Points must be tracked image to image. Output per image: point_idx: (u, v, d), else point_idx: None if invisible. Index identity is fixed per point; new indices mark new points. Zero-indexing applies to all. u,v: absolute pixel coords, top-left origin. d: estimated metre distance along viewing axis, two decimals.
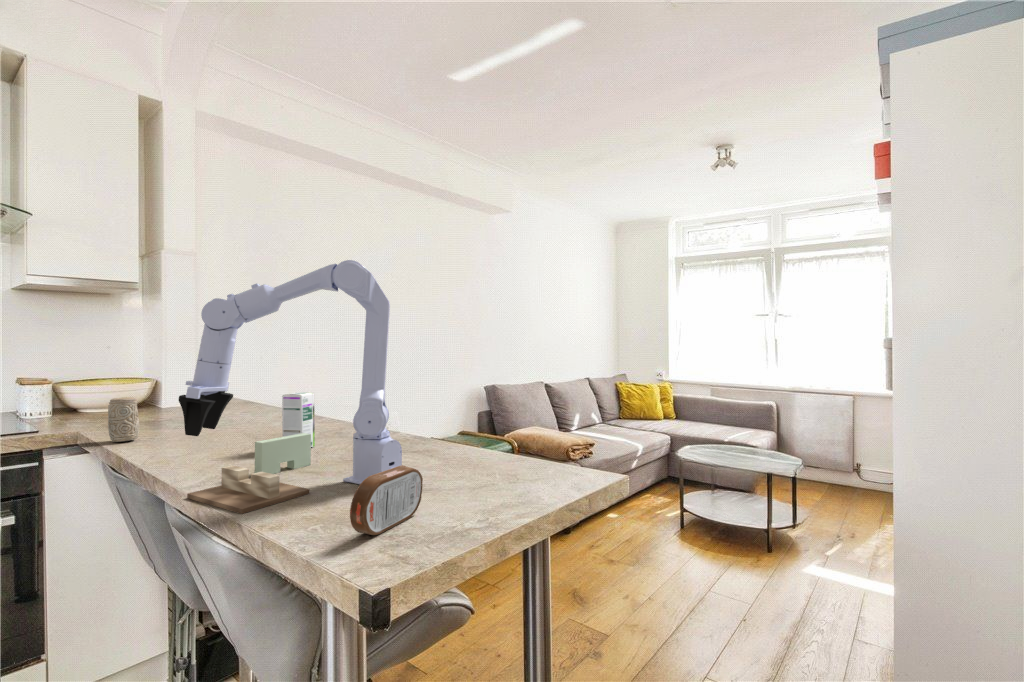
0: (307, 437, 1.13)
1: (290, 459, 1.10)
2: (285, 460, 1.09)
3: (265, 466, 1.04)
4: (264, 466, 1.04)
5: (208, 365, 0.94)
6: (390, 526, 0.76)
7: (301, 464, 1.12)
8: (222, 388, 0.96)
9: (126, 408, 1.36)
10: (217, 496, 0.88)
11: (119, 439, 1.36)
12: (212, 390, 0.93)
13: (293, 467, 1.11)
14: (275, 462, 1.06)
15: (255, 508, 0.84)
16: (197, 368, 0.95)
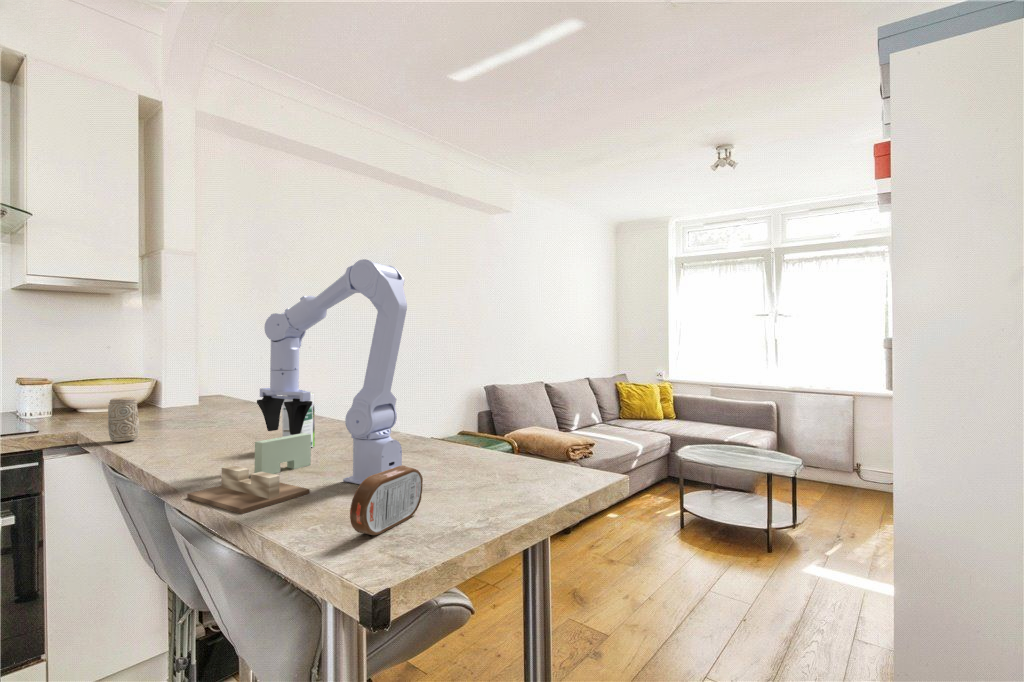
0: (307, 437, 1.13)
1: (290, 459, 1.10)
2: (285, 460, 1.09)
3: (265, 466, 1.04)
4: (264, 466, 1.04)
5: (293, 373, 1.08)
6: (390, 526, 0.76)
7: (301, 464, 1.12)
8: None
9: (126, 408, 1.36)
10: (217, 496, 0.88)
11: (119, 439, 1.36)
12: None
13: (293, 467, 1.11)
14: (275, 462, 1.06)
15: (255, 508, 0.84)
16: (282, 377, 1.07)
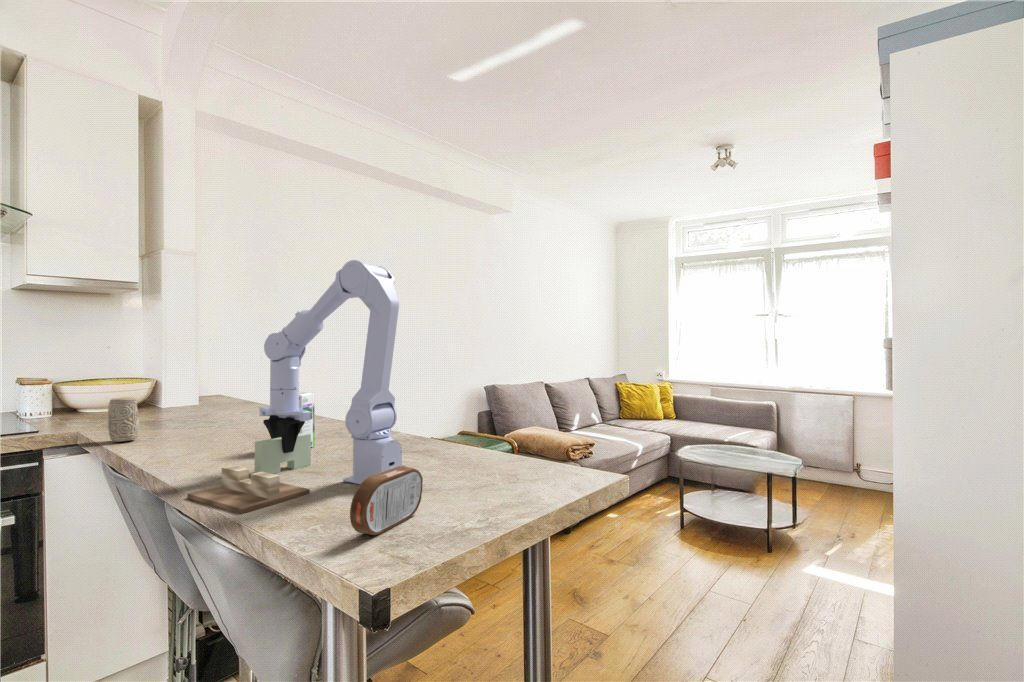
0: (307, 437, 1.13)
1: (290, 459, 1.10)
2: (285, 460, 1.09)
3: (265, 466, 1.04)
4: (263, 466, 1.04)
5: (293, 392, 1.08)
6: (390, 526, 0.76)
7: (301, 464, 1.12)
8: None
9: (126, 408, 1.36)
10: (217, 496, 0.88)
11: (119, 439, 1.36)
12: None
13: (293, 467, 1.11)
14: (275, 462, 1.06)
15: (255, 508, 0.84)
16: (282, 397, 1.07)
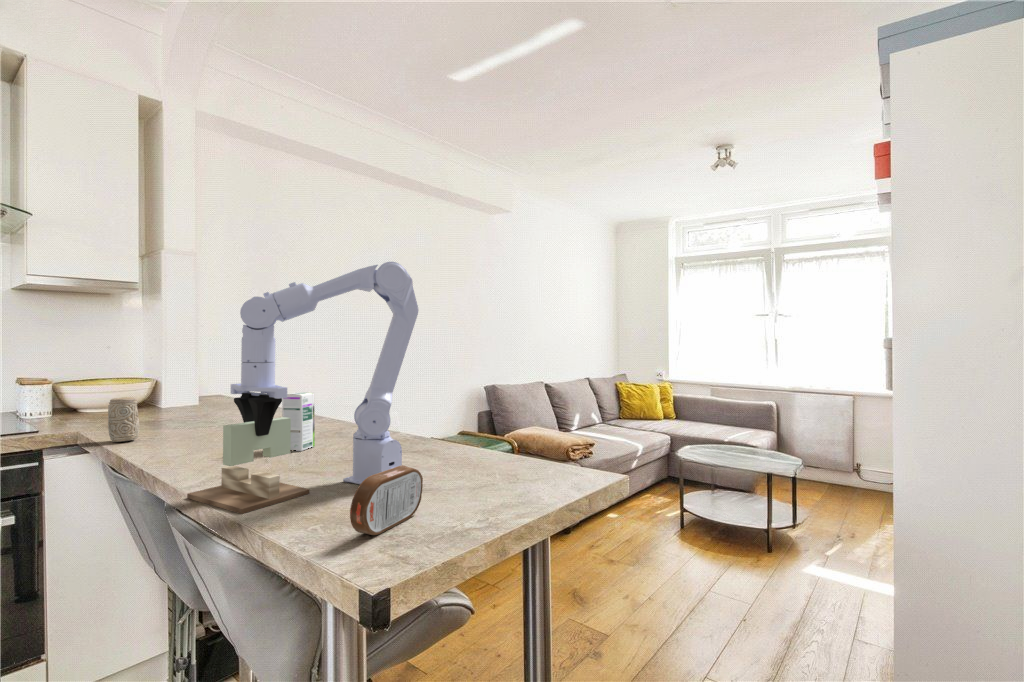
0: (286, 421, 0.99)
1: (266, 446, 0.95)
2: (259, 447, 0.94)
3: (235, 454, 0.90)
4: (233, 454, 0.90)
5: (268, 366, 0.93)
6: (390, 526, 0.76)
7: (279, 452, 0.97)
8: None
9: (126, 408, 1.36)
10: (217, 496, 0.88)
11: (119, 439, 1.36)
12: None
13: (269, 456, 0.96)
14: (247, 449, 0.92)
15: (255, 508, 0.84)
16: (255, 371, 0.92)
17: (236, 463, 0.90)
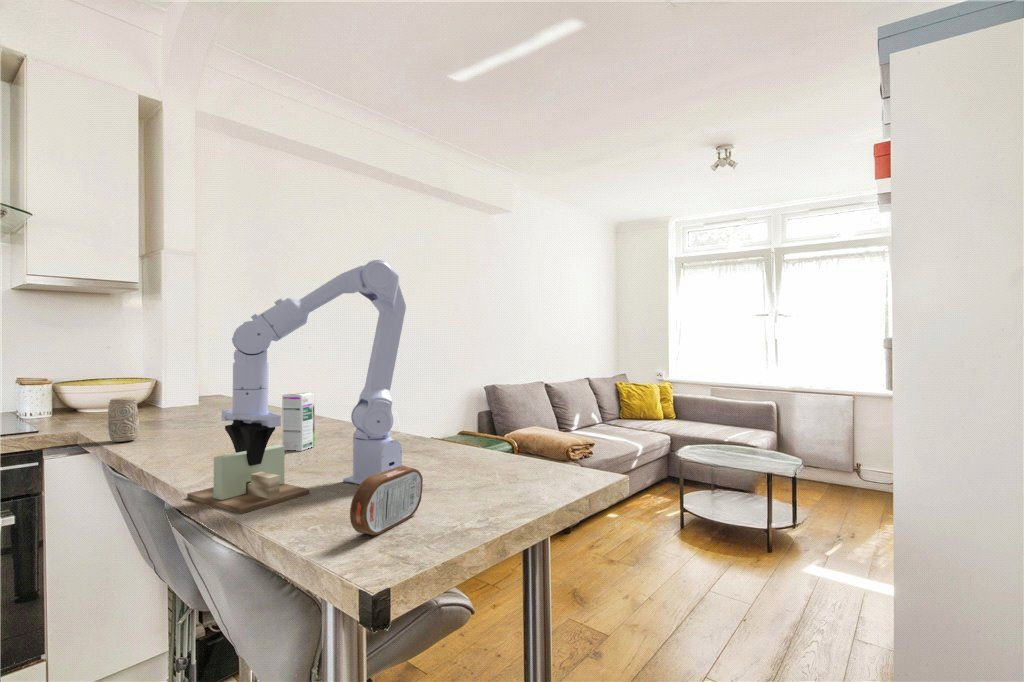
0: (280, 450, 0.95)
1: None
2: None
3: (226, 487, 0.86)
4: (224, 487, 0.86)
5: (260, 392, 0.90)
6: (390, 526, 0.76)
7: None
8: None
9: (126, 408, 1.36)
10: None
11: (119, 439, 1.36)
12: None
13: None
14: (239, 481, 0.88)
15: (255, 508, 0.84)
16: (247, 398, 0.88)
17: (227, 496, 0.86)
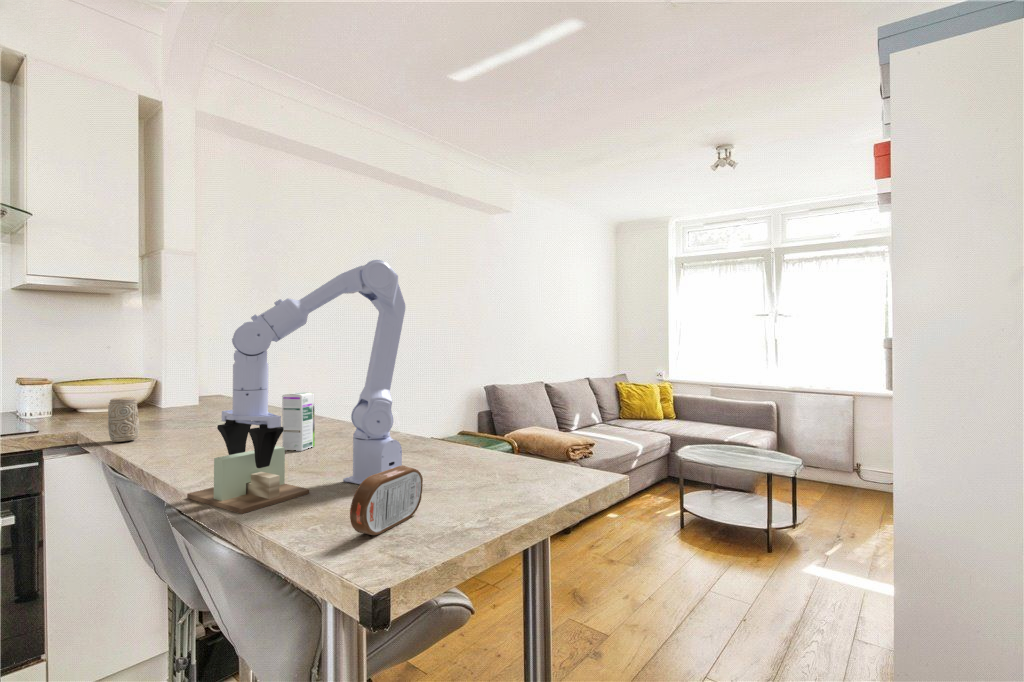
0: (280, 451, 0.95)
1: None
2: None
3: (226, 488, 0.86)
4: (224, 488, 0.86)
5: (260, 393, 0.90)
6: (390, 526, 0.76)
7: None
8: None
9: (126, 408, 1.36)
10: None
11: (119, 439, 1.36)
12: None
13: None
14: (239, 482, 0.88)
15: (255, 508, 0.84)
16: (247, 399, 0.88)
17: (227, 497, 0.86)
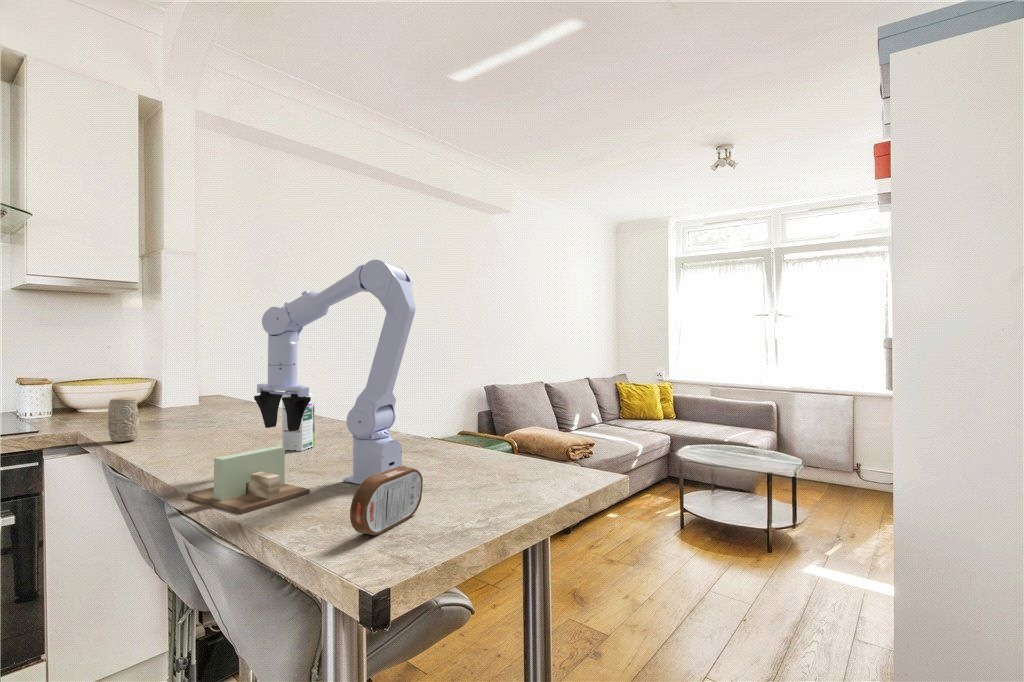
0: (280, 451, 0.95)
1: None
2: None
3: (226, 488, 0.86)
4: (224, 488, 0.86)
5: (291, 368, 1.06)
6: (390, 526, 0.76)
7: None
8: None
9: (126, 408, 1.36)
10: None
11: (119, 439, 1.36)
12: None
13: None
14: (239, 482, 0.88)
15: (255, 508, 0.84)
16: (280, 372, 1.04)
17: (227, 497, 0.86)
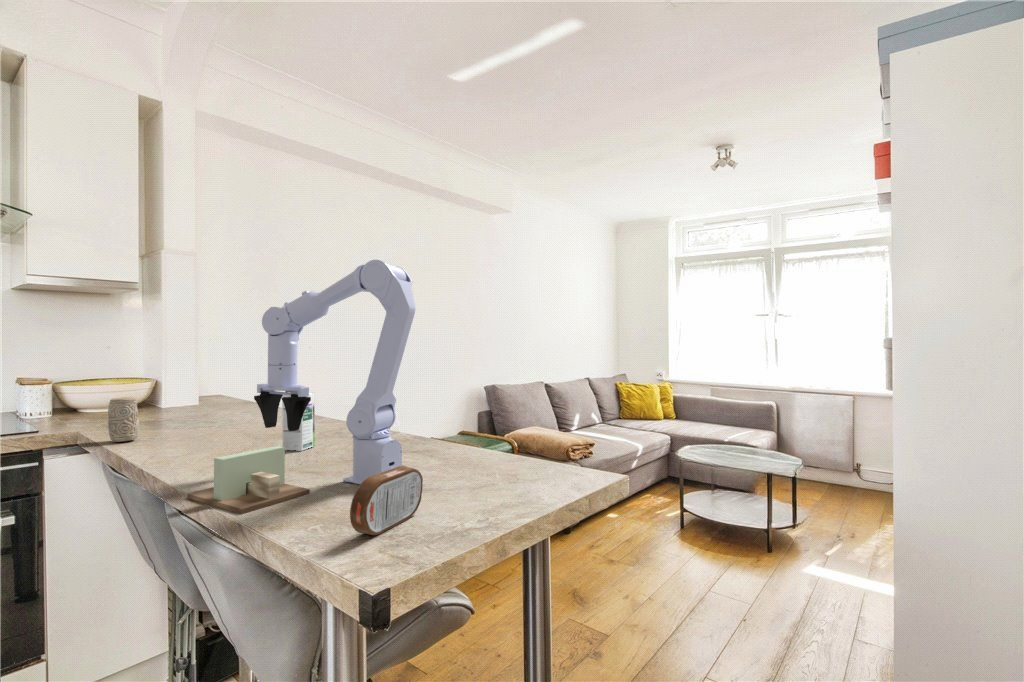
0: (280, 451, 0.95)
1: None
2: None
3: (226, 488, 0.86)
4: (224, 488, 0.86)
5: (291, 368, 1.06)
6: (390, 526, 0.76)
7: None
8: None
9: (126, 408, 1.36)
10: None
11: (119, 439, 1.36)
12: None
13: None
14: (239, 482, 0.88)
15: (255, 508, 0.84)
16: (280, 372, 1.04)
17: (227, 497, 0.86)
